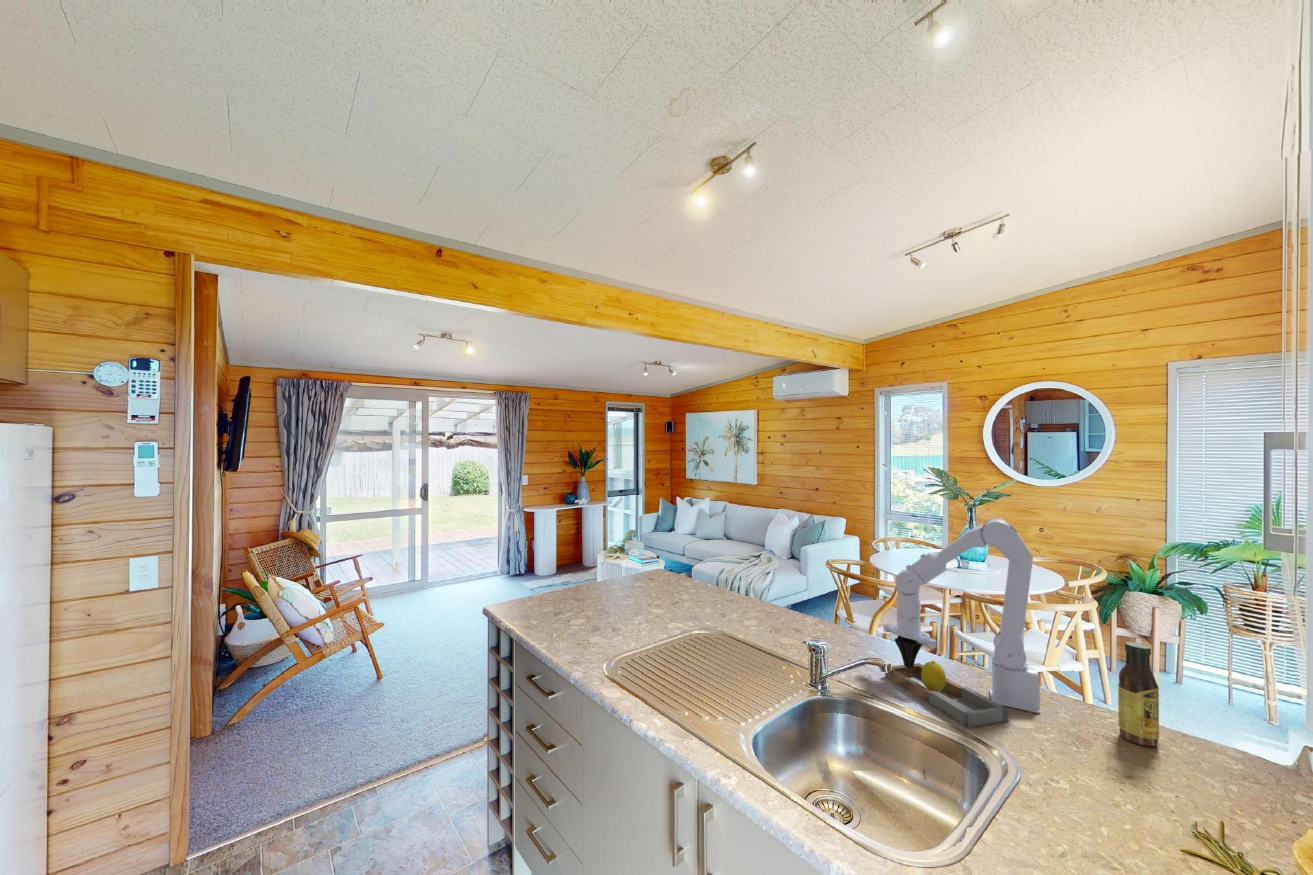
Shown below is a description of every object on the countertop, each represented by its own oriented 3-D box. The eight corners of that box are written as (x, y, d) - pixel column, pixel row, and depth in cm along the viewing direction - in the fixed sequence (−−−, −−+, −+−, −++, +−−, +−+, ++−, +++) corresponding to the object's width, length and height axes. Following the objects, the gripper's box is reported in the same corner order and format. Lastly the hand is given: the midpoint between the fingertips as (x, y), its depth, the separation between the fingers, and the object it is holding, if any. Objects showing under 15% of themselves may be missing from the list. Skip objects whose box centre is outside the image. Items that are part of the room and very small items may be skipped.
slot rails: (885, 676, 137) (885, 667, 137) (919, 672, 139) (919, 663, 139) (929, 704, 122) (929, 693, 122) (966, 698, 124) (966, 688, 124)
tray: (929, 704, 122) (929, 691, 122) (966, 698, 124) (966, 686, 124) (968, 728, 111) (968, 714, 111) (1007, 721, 114) (1007, 708, 114)
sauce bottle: (1151, 751, 103) (1149, 653, 103) (1113, 736, 108) (1111, 642, 109) (1165, 743, 106) (1163, 647, 106) (1126, 728, 111) (1125, 637, 112)
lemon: (945, 700, 124) (945, 667, 124) (920, 694, 126) (920, 662, 127) (946, 691, 128) (946, 659, 128) (922, 685, 131) (922, 654, 131)
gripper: (943, 621, 131) (944, 673, 131) (895, 605, 144) (895, 653, 144) (926, 625, 128) (926, 679, 128) (878, 609, 141) (878, 658, 141)
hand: (908, 666), depth 136 cm, fingers closed
